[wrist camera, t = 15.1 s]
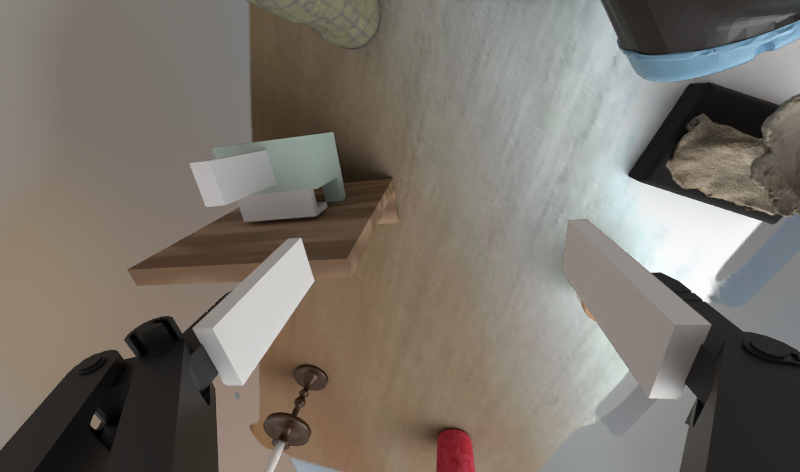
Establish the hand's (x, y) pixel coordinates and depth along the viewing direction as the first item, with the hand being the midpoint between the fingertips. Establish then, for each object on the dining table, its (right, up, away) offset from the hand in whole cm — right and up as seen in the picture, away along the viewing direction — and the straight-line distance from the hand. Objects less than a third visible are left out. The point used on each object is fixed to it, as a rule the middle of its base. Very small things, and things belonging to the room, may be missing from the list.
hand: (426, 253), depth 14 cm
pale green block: (-16, +11, +28) cm, 34 cm away
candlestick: (-25, -37, +63) cm, 78 cm away
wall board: (-14, +9, +39) cm, 42 cm away
